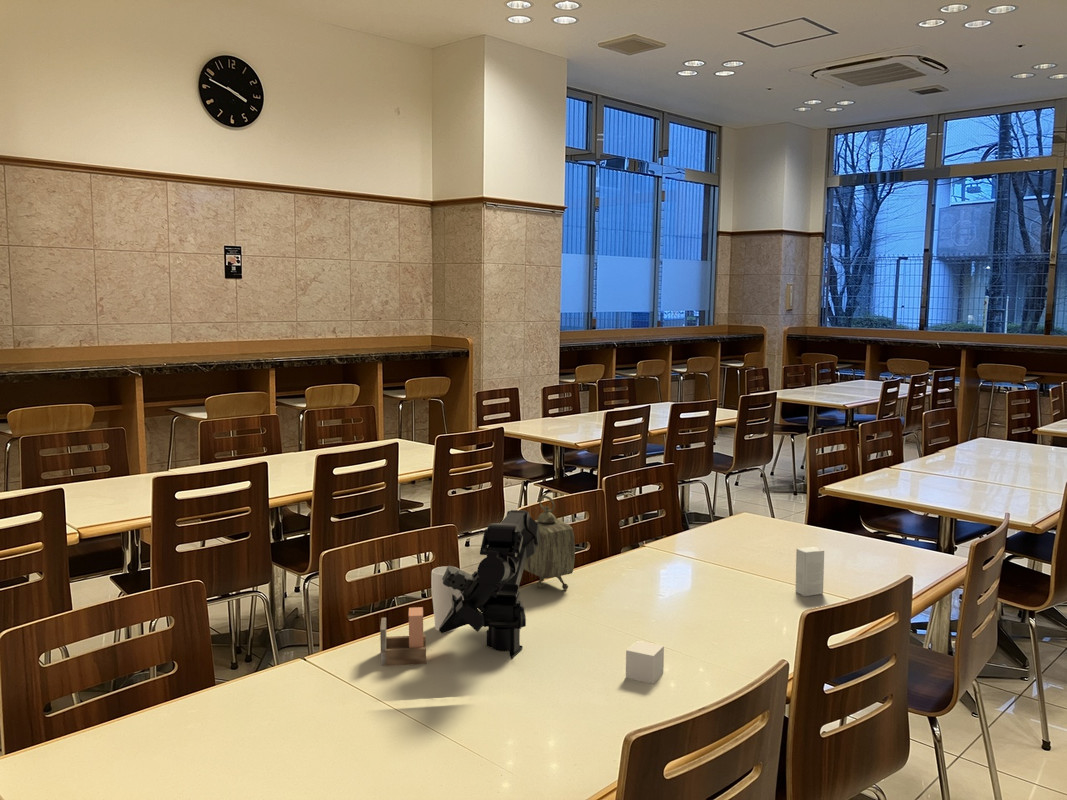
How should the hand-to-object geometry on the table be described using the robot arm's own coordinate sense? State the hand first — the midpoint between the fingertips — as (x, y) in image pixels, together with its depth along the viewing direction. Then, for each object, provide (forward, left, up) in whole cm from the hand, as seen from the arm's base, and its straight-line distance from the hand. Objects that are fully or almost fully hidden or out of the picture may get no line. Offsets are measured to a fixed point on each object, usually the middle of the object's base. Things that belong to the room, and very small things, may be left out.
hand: (440, 631), depth 188 cm
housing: (+6, +4, -7) cm, 10 cm away
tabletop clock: (-3, -55, -7) cm, 56 cm away
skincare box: (-70, -77, -7) cm, 104 cm away
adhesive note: (-43, -10, -7) cm, 44 cm away
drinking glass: (+6, -15, -7) cm, 18 cm away
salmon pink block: (+4, +3, -5) cm, 7 cm away
